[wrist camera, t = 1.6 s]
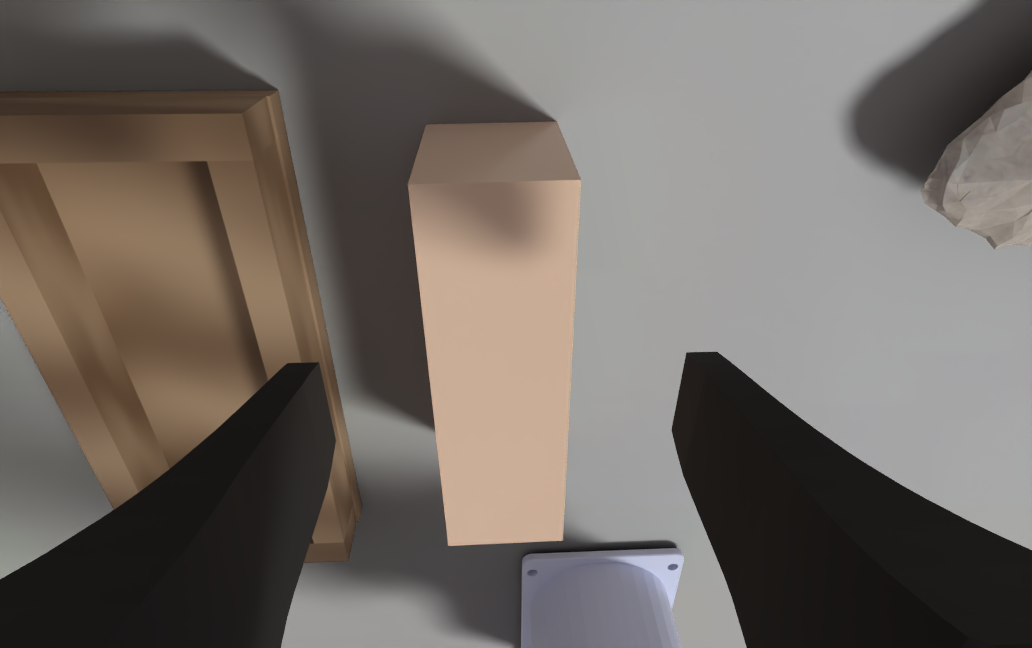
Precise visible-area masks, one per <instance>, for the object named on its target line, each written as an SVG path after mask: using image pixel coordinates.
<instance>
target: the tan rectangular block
mask: <svg viewBox="0 0 1032 648" xmlns="http://www.w3.org/2000/svg"><path fill="white" fill-rule="evenodd" d="M580 189H581V179H580V176H579V174H578V171H577V169H576V167H575V164H574V162H573V159H572V157H571V154H570V152H569V150H568V147H567V145H566V142H565V140H564V137H563V135H562V133H561V130H560V128H559V125H558V123H557V121H551V122H508V123H464V124H426V126H425V130H424V133H423V136H422V140H421V143H420V146H419V149H418V153H417V156H416V159H415V162H414V166H413V169H412V172H411V175H410V179H409V182H408V191H409V200H410V208H411V217H412V226H413V235H414V244H415V253H416V262H417V271H418V280H419V289H420V298H421V307H422V316H423V325H424V333H425V342H426V351H427V360H428V369H429V378H430V387H431V396H432V405H433V414H434V423H435V432H436V441H437V450H438V458H439V467H440V476H441V485H442V494H443V503H444V512H445V521H446V530H447V539H448V546H458V545H479V544H501V543H522V542H543V541H563V528H564V508H565V488H566V468H567V448H568V428H569V408H570V388H571V368H572V348H573V329H574V309H575V289H576V269H577V249H578V229H579V209H580Z"/></svg>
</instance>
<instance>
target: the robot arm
mask: <svg viewBox="0 0 1032 648" xmlns="http://www.w3.org/2000/svg"><path fill="white" fill-rule="evenodd" d="M672 433H673V438H674V442H675V446H676V450H677V454H678V458H679V461H680V465H681V469H682V472H683V476H684V478H685V481H686V483H687V486H688V488H689V491H690V493H691V496H692V498H693V501H694V503H695V506H696V508H697V511H698V513H699V516H700V518H701V521H702V523H703V525H704V528H705V530H706V533H707V535H708V538H709V540H710V542H711V545H712V547H713V550H714V552H715V555H716V557H717V560H718V562H719V564H720V567H721V569H722V572H723V574H724V577H725V580H726V582H727V585H728V588H729V591H730V593H731V596H732V599H733V602H734V606H735V609H736V613H737V616H738V619H739V623H740V626H741V629H742V633H743V636H744V640H745V643H746V646H747V648H1032V550H1030V549H1028V548H1025V547H1023V546H1021V545H1019V544H1016V543H1014V542H1012V541H1010V540H1007V539H1005V538H1003V537H1001V536H999V535H997V534H994V533H992V532H990V531H988V530H986V529H984V528H982V527H980V526H978V525H976V524H974V523H972V522H970V521H967V520H965V519H964V518H962V517H960V516H958V515H956V514H954V513H952V512H950V511H948V510H946V509H944V508H942V507H941V506H939V505H937V504H935V503H933V502H931V501H929V500H927V499H925V498H923V497H922V496H920V495H918V494H916V493H914V492H913V491H911V490H909V489H907V488H906V487H904V486H902V485H900V484H899V483H897V482H895V481H894V480H892V479H890V478H889V477H887V476H885V475H884V474H882V473H881V472H879V471H877V470H876V469H874V468H872V467H871V466H869V465H867V464H866V463H864V462H863V461H861V460H860V459H858V458H856V457H855V456H853V455H852V454H850V453H849V452H847V451H846V450H844V449H843V448H842V447H840V446H839V445H837V444H836V443H834V442H833V441H832V440H830V439H829V438H827V437H826V436H824V435H823V434H822V433H820V432H819V431H817V430H816V429H815V428H813V427H812V426H810V425H809V424H808V423H806V422H805V421H804V420H802V419H801V418H800V417H798V416H797V415H796V414H795V413H793V412H792V411H791V410H789V409H788V408H787V407H786V406H784V405H783V404H782V403H780V402H779V401H778V400H777V399H775V398H774V397H773V396H772V395H770V394H769V393H768V392H767V391H765V390H764V389H763V388H762V387H760V386H759V385H758V384H757V383H756V382H754V381H753V380H752V379H751V378H749V377H748V376H747V375H746V374H745V373H743V372H742V371H741V370H740V369H738V368H737V367H736V366H735V365H733V364H732V363H731V362H730V361H728V360H727V359H726V358H725V357H723V356H722V355H721V354H719V353H718V352H691V353H686V358H685V363H684V368H683V374H682V379H681V384H680V389H679V394H678V400H677V405H676V410H675V415H674V420H673V425H672ZM335 444H336V438H335V433H334V428H333V424H332V419H331V415H330V410H329V405H328V401H327V396H326V392H325V387H324V382H323V378H322V373H321V369H320V364H319V362H307V363H287V364H286V365H285V366H283V367H282V368H281V369H280V370H279V371H278V372H277V373H276V374H275V375H274V376H273V377H272V378H271V379H269V380H268V381H267V382H266V383H265V384H264V385H263V386H262V387H261V388H260V389H259V390H258V391H257V392H256V393H255V394H254V395H253V396H252V397H251V398H250V399H249V400H248V401H247V402H245V403H244V404H243V405H242V406H241V407H240V408H239V409H238V410H237V411H236V412H235V413H234V414H232V415H231V416H230V417H229V418H228V419H227V420H226V421H225V422H224V423H223V424H222V425H221V426H220V427H218V428H217V429H216V430H215V431H214V432H213V433H212V434H210V435H209V436H208V437H207V438H206V439H205V440H203V441H202V442H201V443H200V444H199V445H197V446H196V447H195V448H194V449H193V450H191V451H190V452H189V453H188V454H187V455H186V456H184V457H183V458H182V459H181V460H180V461H178V462H177V463H176V464H175V465H174V466H172V467H171V468H170V469H169V470H167V471H166V472H165V473H164V474H162V475H161V476H160V477H159V478H157V479H156V480H155V481H153V482H152V483H151V484H149V485H148V486H147V487H145V488H144V489H143V490H141V491H140V492H138V493H137V494H136V495H134V496H133V497H131V498H130V499H129V500H127V501H126V502H124V503H123V504H122V505H120V506H119V507H117V508H116V509H114V510H113V511H112V512H110V513H109V514H107V515H106V516H104V517H103V518H101V519H99V520H98V521H96V522H95V523H93V524H91V525H90V526H88V527H87V528H85V529H84V530H82V531H80V532H79V533H77V534H76V535H74V536H72V537H71V538H69V539H68V540H66V541H65V542H63V543H61V544H60V545H58V546H57V547H55V548H53V549H52V550H50V551H49V552H47V553H45V554H44V555H42V556H40V557H39V558H37V559H35V560H34V561H32V562H30V563H28V564H27V565H25V566H23V567H21V568H20V569H18V570H16V571H14V572H12V573H11V574H9V575H7V576H5V577H4V578H2V579H0V648H281V643H282V639H283V634H284V630H285V625H286V620H287V616H288V612H289V609H290V605H291V602H292V598H293V594H294V591H295V588H296V585H297V582H298V579H299V576H300V573H301V570H302V566H303V563H304V560H305V557H306V554H307V551H308V548H309V545H310V542H311V539H312V536H313V533H314V529H315V526H316V523H317V520H318V517H319V514H320V511H321V507H322V504H323V501H324V498H325V495H326V491H327V488H328V483H329V478H330V473H331V468H332V462H333V456H334V450H335ZM683 562H684V556H683V553H682V551H681V550H680V549H677V548H662V549H637V550H612V551H587V552H562V553H537V554H528V555H526V556H525V557H524V558H523V559H522V600H521V648H682V645H681V642H680V638H679V635H678V631H677V628H676V624H675V621H674V617H673V613H672V606H673V602H674V598H675V594H676V590H677V586H678V582H679V578H680V574H681V570H682V566H683Z"/></svg>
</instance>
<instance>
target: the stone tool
mask: <svg viewBox="0 0 1032 648" xmlns="http://www.w3.org/2000/svg"><path fill="white" fill-rule="evenodd" d="M921 192H922V196H923V199H924V202H925V204H927V205H928V206H930V207H931V208H933V209H934V210H936V211H937V212H939V213H940V214H942V215H943V216H945V217H946V218H947V219H948V220H949V221H950V222H951V223H952V224H953V225H954V226H955V227H961V228H965V229H968V230H971V231H973V232H975V233H977V234H978V235H980V236H982V237H984V238H986V239H987V241H988V242H989V243H990V244H991V246H992V247H993V248H994V249H996V248H1000V247H1003V246H1006V245H1021V246H1028V245H1032V70H1031V72H1030V73H1029V74H1028V75H1027V77H1026V78H1025V79H1024V80H1023V81H1022V82H1021V83H1019V84H1018V85H1017V86H1015V87H1014V88H1013V89H1011V90H1010V91H1009V92H1007V93H1006V94H1004V95H1003V96H1002V97H1001V98H1000V99H999V100H998V101H997V102H996V103H995V104H994V105H993V106H992V107H991V108H990V109H989V110H988V111H987V112H986V113H985V114H984V115H983V116H982V117H981V118H979V119H978V120H977V121H976V122H974V123H973V124H972V125H971V126H970V127H968V128H967V129H966V130H965V131H963V132H962V133H961V134H960V135H959V136H958V137H956V138H955V139H954V140H953V141H952V142H950V143H949V144H948V145H947V147H946V149H945V151H944V152H943V154H942V156H941V158H940V160H939V162H938V163H937V165H936V167H935V169H934V170H933V172H932V173H931V174H930V175H929V177H928V179H927V181H926V183H925V184H924V186H923V188H922V189H921Z"/></svg>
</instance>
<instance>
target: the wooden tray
mask: <svg viewBox="0 0 1032 648" xmlns="http://www.w3.org/2000/svg"><path fill="white" fill-rule="evenodd" d="M0 298H1V299H2V301H3V303H4V305H5V307H6V309H7V311H8V312H9V314H10V316H11V318H12V320H13V322H14V324H15V326H16V327H17V329H18V331H19V333H20V335H21V337H22V339H23V341H24V342H25V344H26V346H27V348H28V350H29V352H30V354H31V355H32V357H33V359H34V361H35V363H36V365H37V367H38V369H39V370H40V372H41V374H42V376H43V378H44V380H45V382H46V383H47V385H48V387H49V389H50V391H51V393H52V395H53V397H54V398H55V400H56V402H57V404H58V406H59V408H60V410H61V411H62V413H63V415H64V417H65V419H66V421H67V423H68V425H69V426H70V428H71V430H72V432H73V434H74V436H75V438H76V439H77V441H78V443H79V445H80V447H81V449H82V451H83V453H84V454H85V456H86V458H87V460H88V462H89V464H90V466H91V467H92V469H93V471H94V473H95V475H96V477H97V479H98V481H99V482H100V484H101V486H102V488H103V490H104V492H105V494H106V495H107V497H108V499H109V501H110V503H111V505H112V507H113V509H116V508H117V507H119V506H120V505H122V504H123V503H124V502H126V501H127V500H129V499H130V498H131V497H133V496H134V495H136V494H137V493H138V492H140V491H141V490H143V489H144V488H145V487H147V486H148V485H149V484H151V483H152V482H153V481H155V480H156V479H157V478H159V477H160V476H161V475H162V474H164V473H165V472H166V471H167V470H169V469H170V468H171V467H172V466H174V465H175V464H176V463H177V462H178V461H180V460H181V459H182V458H183V457H184V456H186V455H187V454H188V453H189V452H190V451H191V450H193V449H194V448H195V447H196V446H197V445H199V444H200V443H201V442H202V441H203V440H205V439H206V438H207V437H208V436H209V435H210V434H212V433H213V432H214V431H215V430H216V429H217V428H218V427H220V426H221V425H222V424H223V423H224V422H225V421H226V420H227V419H228V418H229V417H230V416H231V415H232V414H234V413H235V412H236V411H237V410H238V409H239V408H240V407H241V406H242V405H243V404H244V403H245V402H247V401H248V400H249V399H250V398H251V397H252V396H253V395H254V394H255V393H256V392H257V391H258V390H259V389H260V388H261V387H262V386H263V385H264V384H265V383H266V382H267V381H268V380H269V379H271V378H272V377H273V376H274V375H275V374H276V373H277V372H278V371H279V370H280V369H281V368H282V367H283V366H285V365H286V364H287V363H307V362H319V364H320V369H321V373H322V378H323V382H324V387H325V392H326V396H327V401H328V405H329V410H330V415H331V419H332V424H333V428H334V433H335V438H336V444H335V450H334V456H333V462H332V468H331V473H330V478H329V483H328V488H327V491H326V495H325V498H324V501H323V504H322V507H321V511H320V514H319V517H318V520H317V523H316V526H315V529H314V533H313V536H312V539H311V542H310V545H309V548H308V551H307V554H306V557H305V560H304V563H312V562H337V561H348V560H349V556H350V551H351V546H352V542H353V537H354V532H355V528H356V523H357V522H359V520H360V515H361V510H362V504H361V499H360V494H359V489H358V484H357V479H356V474H355V469H354V464H353V459H352V454H351V449H350V444H349V440H348V435H347V430H346V425H345V420H344V415H343V410H342V405H341V400H340V395H339V390H338V385H337V380H336V375H335V370H334V365H333V360H332V355H331V350H330V345H329V340H328V335H327V331H326V326H325V321H324V316H323V311H322V306H321V301H320V296H319V291H318V286H317V281H316V276H315V271H314V266H313V261H312V256H311V251H310V246H309V241H308V236H307V231H306V226H305V221H304V217H303V212H302V207H301V202H300V197H299V192H298V187H297V182H296V177H295V172H294V167H293V162H292V157H291V152H290V147H289V142H288V137H287V132H286V127H285V122H284V117H283V112H282V108H281V103H280V98H279V93H278V90H240V91H99V92H0Z"/></svg>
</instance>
